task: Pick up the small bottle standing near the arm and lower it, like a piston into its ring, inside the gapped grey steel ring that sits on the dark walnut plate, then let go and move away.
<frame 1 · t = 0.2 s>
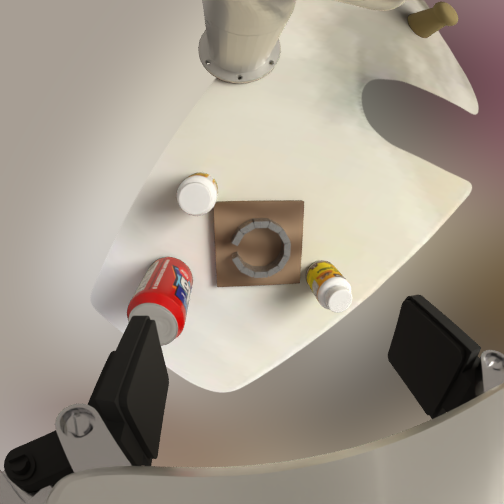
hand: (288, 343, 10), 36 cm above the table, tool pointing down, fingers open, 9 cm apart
cork: (418, 26, 34), on the table
base plate: (258, 243, 46), on the table
soda can: (171, 276, 47), on the table
supplement bottle 2: (319, 273, 49), on the table
steel ring: (260, 248, 44), on the base plate, point 2 cm above the table
supplement bottle: (200, 189, 42), on the table
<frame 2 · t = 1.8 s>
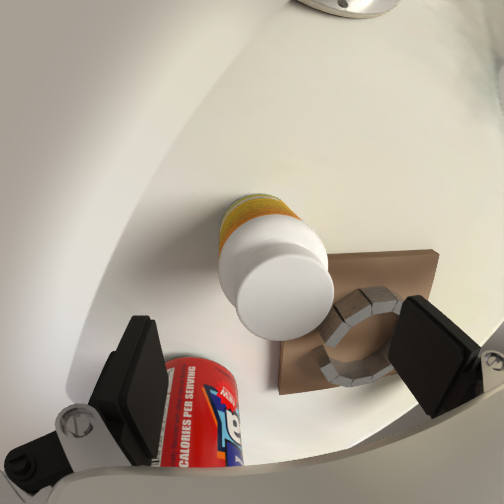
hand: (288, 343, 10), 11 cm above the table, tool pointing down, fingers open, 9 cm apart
base plate: (356, 324, 24), on the table
soda can: (195, 378, 25), on the table
steel ring: (367, 339, 21), on the base plate, point 2 cm above the table
supplement bottle: (258, 229, 20), on the table
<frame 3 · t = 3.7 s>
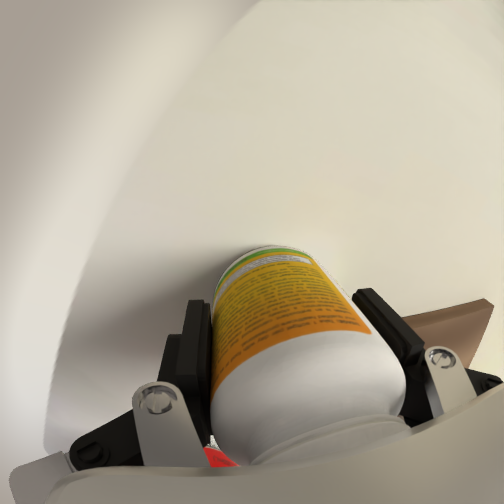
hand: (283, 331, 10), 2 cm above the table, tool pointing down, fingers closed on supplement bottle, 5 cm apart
base plate: (390, 394, 16), on the table
soda can: (190, 456, 17), on the table
supplement bottle: (272, 297, 13), on the table, touching gripper
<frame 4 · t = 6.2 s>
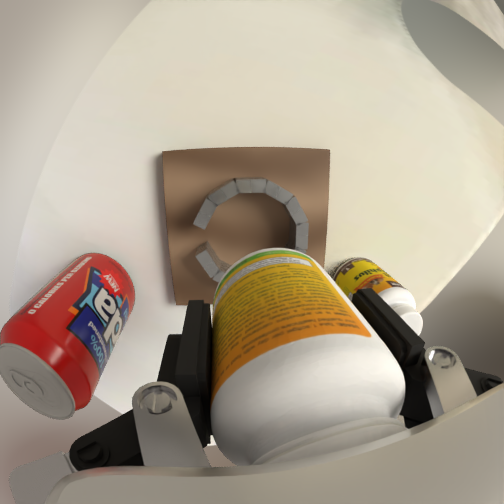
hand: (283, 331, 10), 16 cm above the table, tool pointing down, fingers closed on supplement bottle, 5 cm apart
base plate: (247, 226, 25), on the table
soda can: (103, 285, 26), on the table
supplement bottle 2: (352, 279, 28), on the table
steel ring: (250, 233, 23), on the base plate, point 2 cm above the table
supplement bottle: (272, 299, 13), point 13 cm above the table, touching gripper
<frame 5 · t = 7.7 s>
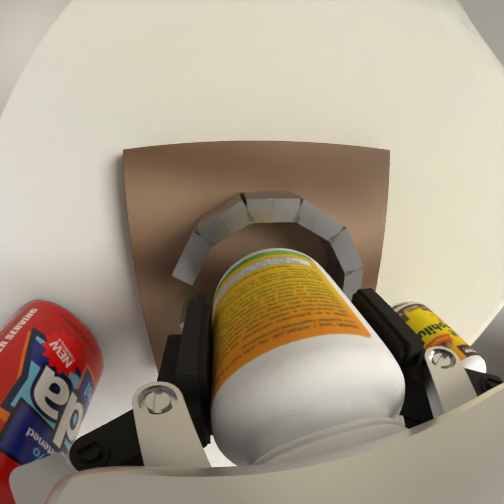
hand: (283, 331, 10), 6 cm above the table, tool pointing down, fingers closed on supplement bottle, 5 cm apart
base plate: (261, 267, 16), on the table
soda can: (63, 338, 17), on the table
supplement bottle 2: (398, 328, 19), on the table
steel ring: (268, 285, 14), on the base plate, point 2 cm above the table
supplement bottle: (272, 299, 13), point 4 cm above the table, touching gripper
when the fingers open (6 cm above the table, at t = 8.7 s): supplement bottle drops 2 cm, resting on base plate.
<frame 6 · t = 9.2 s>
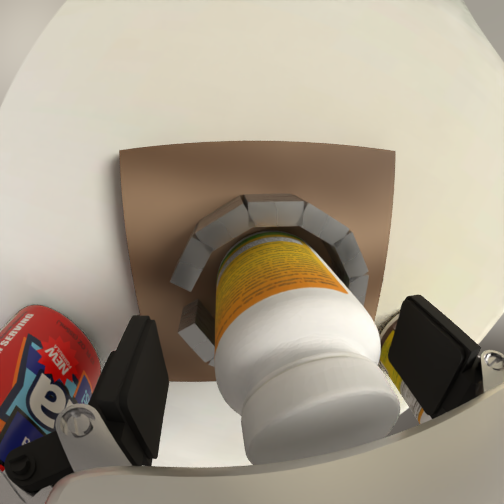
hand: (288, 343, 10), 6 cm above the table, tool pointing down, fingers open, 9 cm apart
base plate: (263, 272, 16), on the table
soda can: (60, 343, 16), on the table
supplement bottle 2: (401, 332, 19), on the table
steel ring: (270, 291, 13), on the base plate, point 2 cm above the table
supplement bottle: (268, 277, 15), point 1 cm above the table, touching base plate
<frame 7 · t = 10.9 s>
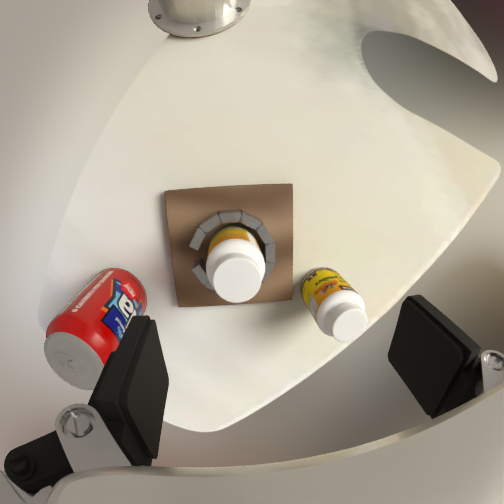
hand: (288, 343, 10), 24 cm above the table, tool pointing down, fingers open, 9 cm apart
base plate: (231, 246, 33), on the table
soda can: (121, 292, 34), on the table
supplement bottle 2: (319, 285, 36), on the table
steel ring: (232, 252, 31), on the base plate, point 2 cm above the table
supplement bottle: (233, 247, 32), point 1 cm above the table, touching base plate
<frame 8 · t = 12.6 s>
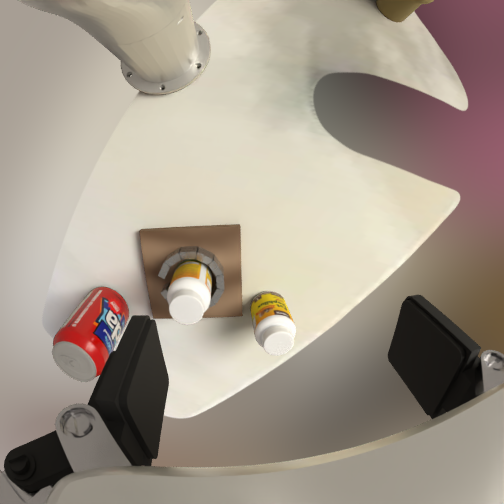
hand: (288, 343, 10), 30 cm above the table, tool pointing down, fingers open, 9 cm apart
cork: (390, 9, 29), on the table
base plate: (193, 273, 41), on the table
soda can: (109, 305, 41), on the table
supplement bottle 2: (267, 304, 44), on the table
steel ring: (191, 279, 38), on the base plate, point 2 cm above the table
supplement bottle: (193, 274, 40), point 1 cm above the table, touching base plate
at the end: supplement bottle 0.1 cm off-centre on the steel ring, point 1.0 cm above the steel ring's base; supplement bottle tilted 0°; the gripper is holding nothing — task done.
